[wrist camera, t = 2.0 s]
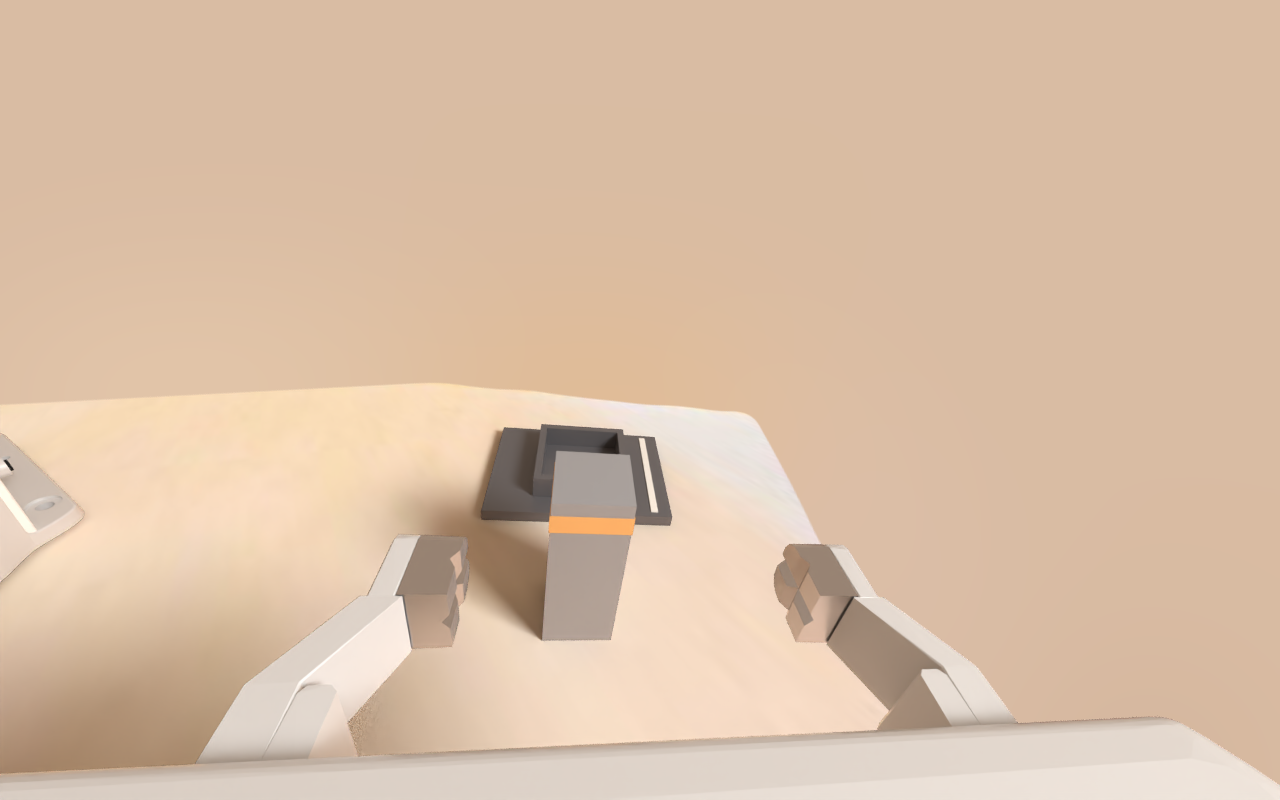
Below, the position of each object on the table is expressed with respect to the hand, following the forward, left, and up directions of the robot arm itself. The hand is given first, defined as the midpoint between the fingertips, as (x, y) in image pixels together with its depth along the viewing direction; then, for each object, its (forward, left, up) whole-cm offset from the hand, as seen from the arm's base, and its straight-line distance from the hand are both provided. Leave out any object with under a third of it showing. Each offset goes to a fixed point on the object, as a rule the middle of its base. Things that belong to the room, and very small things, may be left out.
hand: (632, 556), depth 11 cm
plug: (-9, +9, -20) cm, 23 cm away
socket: (-19, +19, -20) cm, 33 cm away
